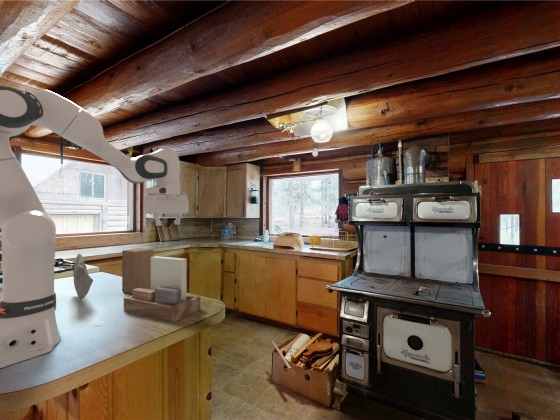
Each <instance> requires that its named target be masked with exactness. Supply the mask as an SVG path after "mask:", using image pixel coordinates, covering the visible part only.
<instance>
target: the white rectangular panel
mask: <svg viewBox="0 0 560 420" xmlns="http://www.w3.org/2000/svg"><path fill="white" fill-rule="evenodd" d="M160 286H165V287H171V288H178V289H181V300H186V294H187V258H183V257H181V258H180V257H172V256H171V257H170V256H159V255H156V256H153V257H151V290H155V288H156V287H160Z"/></svg>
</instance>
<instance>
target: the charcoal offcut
mask: <svg viewBox="0 0 560 420" xmlns="http://www.w3.org/2000/svg"><path fill="white" fill-rule="evenodd" d="M155 302H158V303H163V304H169V305H174V306H175V305H177V304H180V303H181V289H178V288H171V287H165V286H160V287H156V288H155Z"/></svg>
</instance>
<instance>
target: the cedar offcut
mask: <svg viewBox="0 0 560 420" xmlns="http://www.w3.org/2000/svg"><path fill="white" fill-rule="evenodd" d="M131 296H132V298H135V299H141V300H146V301H152V302H155V290H150V289H143V288H137V289H133V290H132V295H131Z"/></svg>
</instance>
